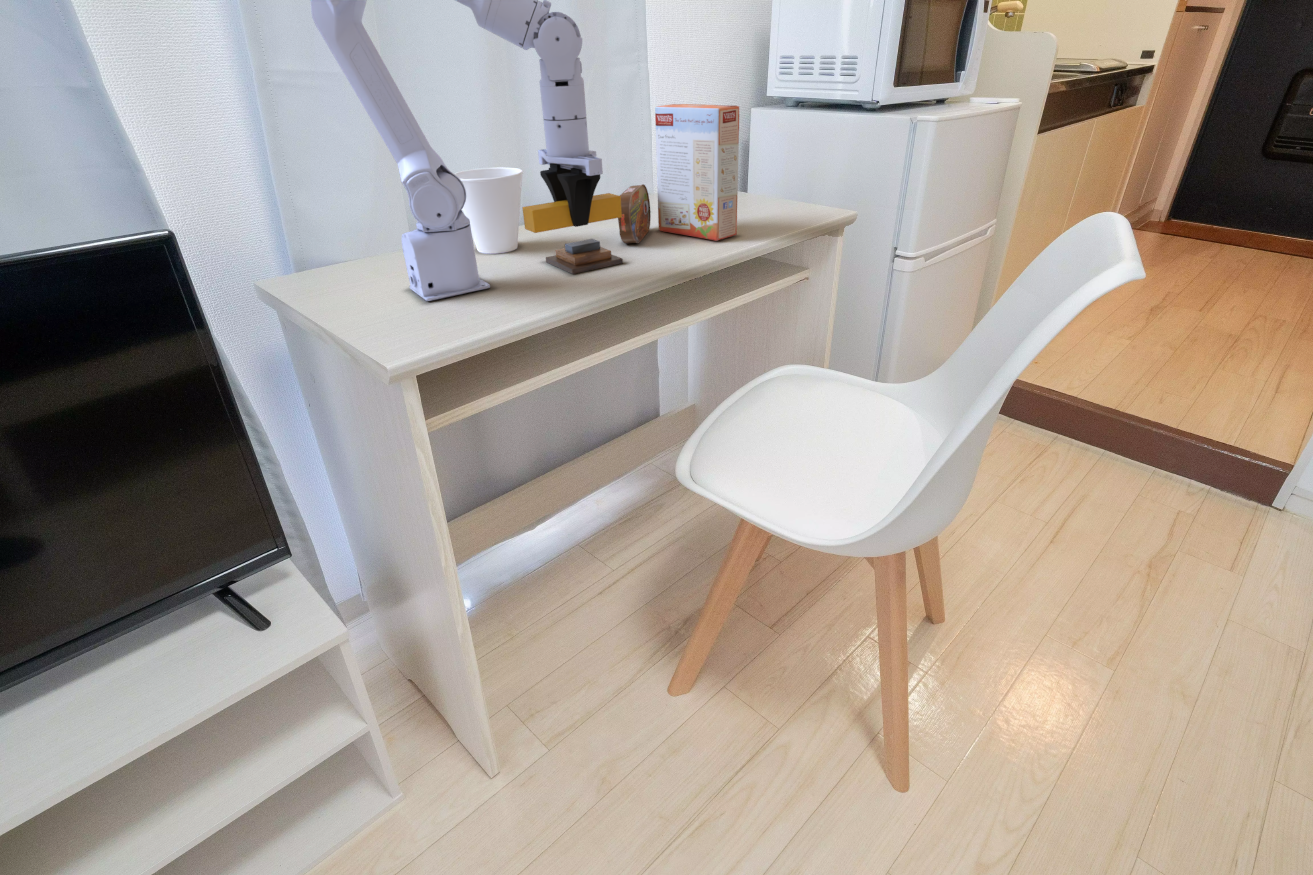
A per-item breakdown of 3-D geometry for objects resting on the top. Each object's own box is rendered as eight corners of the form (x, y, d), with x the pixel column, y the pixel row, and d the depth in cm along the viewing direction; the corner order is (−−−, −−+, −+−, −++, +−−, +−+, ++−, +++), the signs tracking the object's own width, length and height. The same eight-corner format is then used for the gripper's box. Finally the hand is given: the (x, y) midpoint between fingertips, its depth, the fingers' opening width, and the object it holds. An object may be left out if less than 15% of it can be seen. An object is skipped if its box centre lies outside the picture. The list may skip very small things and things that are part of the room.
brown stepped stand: (572, 274, 105) (570, 253, 104) (545, 262, 112) (543, 242, 110) (622, 263, 110) (621, 243, 108) (594, 252, 116) (592, 232, 114)
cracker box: (738, 235, 122) (741, 104, 112) (716, 242, 119) (718, 107, 108) (679, 225, 131) (677, 102, 121) (657, 231, 127) (653, 105, 117)
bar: (535, 233, 94) (532, 210, 93) (524, 229, 97) (521, 207, 95) (622, 217, 101) (620, 196, 100) (610, 214, 103) (609, 193, 102)
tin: (634, 249, 117) (631, 197, 113) (616, 248, 118) (613, 197, 113) (652, 228, 130) (650, 180, 126) (636, 227, 130) (633, 180, 126)
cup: (483, 238, 127) (472, 166, 121) (543, 241, 124) (534, 167, 118) (449, 256, 117) (435, 178, 111) (513, 259, 114) (502, 179, 108)
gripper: (619, 119, 89) (625, 227, 95) (565, 113, 99) (574, 211, 106) (571, 124, 85) (580, 236, 92) (520, 117, 96) (532, 218, 103)
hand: (574, 223), depth 99 cm, fingers closed on bar, 3 cm apart
